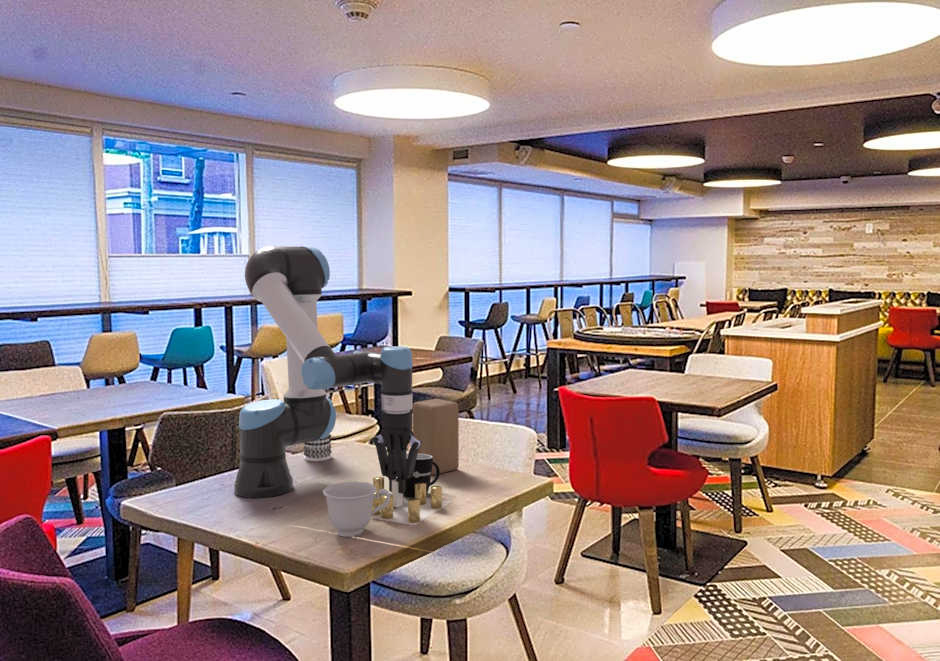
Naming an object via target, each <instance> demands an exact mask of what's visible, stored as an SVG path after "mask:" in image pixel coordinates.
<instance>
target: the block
mask: <svg viewBox="0 0 940 661" xmlns="http://www.w3.org/2000/svg"><path fill="white" fill-rule="evenodd" d="M412 407H413V408H412V432H413V435H414V436H413V437H414V438H416V439H417V440H418V441H419V440H421V441H422V445H421V446H420V448H419V450H418V454H427V455H431V456H432V457H433V462H435V463H436V464H437V465H438V467H439V471H440V474H444V473H448V472H451V471H456V470H458V469H459V460H460V459H459V457H460V456H459V452H460V451H459V449H460V448H459V441H460V440H459V435H460V434H459V430H460V429H459V404H458V402H455V401H450V400H445V399H441V398H432V399H426V400H425V399H424V400H421V401H420V400H419V401H415V402H412ZM431 476H436V468H435V466H434V465H433V464H432V473H431Z"/></svg>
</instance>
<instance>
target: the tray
mask: <svg viewBox="0 0 940 661" xmlns="http://www.w3.org/2000/svg"><path fill="white" fill-rule="evenodd" d="M388 492H389V493H392V492H390V491H388ZM408 499H411V498H410V497H405V496H404V501H403V504H402V505H401V506H399V507H395V508H393V518H391V519H383V518H381V514H380V515H372V517H371V519H376V520H380V521H385V522H386V521H387V522H393V523H398V524H404V525H410V526H416V525H418V524H420V523H421V522H422V521H424V520H426V519H427V518H429V517H430V516H431V515H433V514H435V513H437V512H438V511H440V510H441V509H442V508H444V507H446V506H447V505H449V504H450V503H452V502H453V501H452V500H451V501H450V500H445V499H442V508H440V509H433V508H431V497H426V504H424V505H420V522H417V523H410V522H408Z"/></svg>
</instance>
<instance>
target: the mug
mask: <svg viewBox="0 0 940 661" xmlns="http://www.w3.org/2000/svg"><path fill="white" fill-rule="evenodd" d="M408 454H409V452H408V453H406V463H407V459H408ZM432 464H433V465H434V466H435V468H436V475H434V476H435V477H434V478H433V479H432V474H431V473H432ZM440 475H441V473H440V471H439V467H438V465H437V464H436V463H435V462H433V457H432V456H431V455H427V454H417V459H416V463H415V468H414V472H413V476H412V477H410V478H408V479H406V481H405V482H406V490H405V492H404V493H403V496H405V497H410V498H415V483H417V482H425V483H426V496H427V494H428V492H429V490H430V487H431V486H434V484H436V483H437V481H438V479H439V478H440ZM431 480H432V481H431Z"/></svg>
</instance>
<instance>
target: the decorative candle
mask: <svg viewBox="0 0 940 661" xmlns="http://www.w3.org/2000/svg"><path fill="white" fill-rule="evenodd" d="M323 390H324V391H325V392H326V398H329V399H330V400H331V401H332V400H333V399H332V398H331V394H330V388H329V389H323ZM331 438H332V434H331V433H330V434H329V435H328V436H327V437H325V438H323V439H319V440H317V441H314V442H306V443H303V444H304V446H303V448H302V449H303V452H302V454H303V455H304V456H303V459H304V460H305V461H308V462H323V461H327V460H330V459H331V458H332V453H333V452H332V450H331V449H332V445H331V442H332V439H331Z"/></svg>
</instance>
